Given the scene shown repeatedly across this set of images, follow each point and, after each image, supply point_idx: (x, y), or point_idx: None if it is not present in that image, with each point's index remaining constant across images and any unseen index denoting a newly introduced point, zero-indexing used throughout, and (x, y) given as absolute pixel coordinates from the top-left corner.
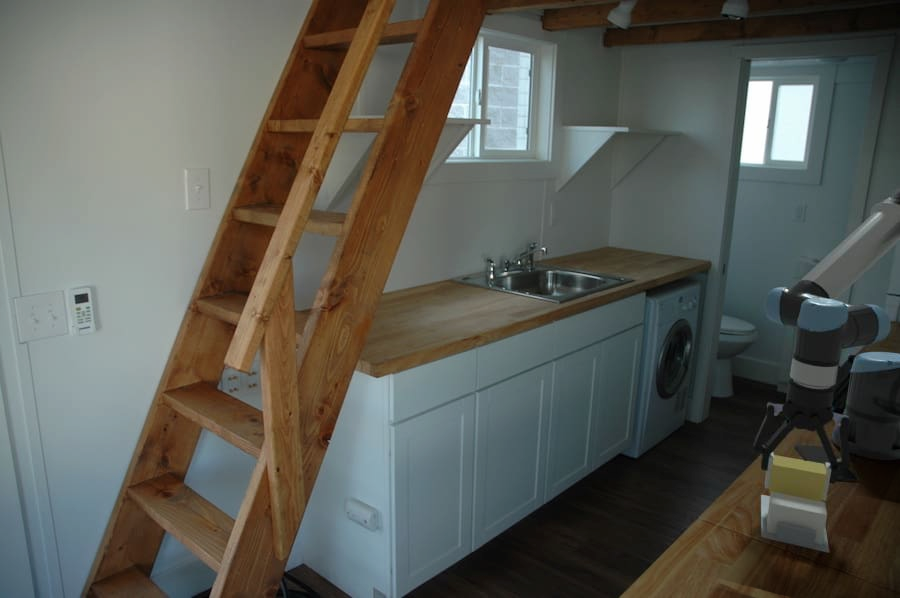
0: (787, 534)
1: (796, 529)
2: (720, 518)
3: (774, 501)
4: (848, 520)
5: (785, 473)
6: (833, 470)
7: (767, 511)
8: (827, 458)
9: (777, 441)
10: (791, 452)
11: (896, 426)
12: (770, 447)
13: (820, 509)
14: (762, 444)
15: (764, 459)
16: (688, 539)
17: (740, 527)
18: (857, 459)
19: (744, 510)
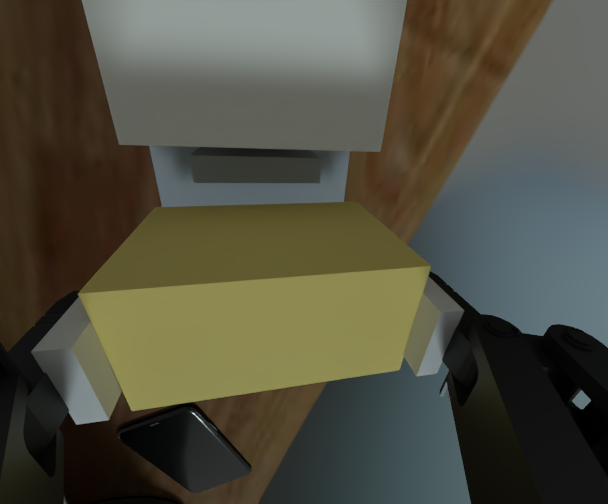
0: None
1: None
2: (454, 110)
3: (385, 30)
4: (103, 263)
5: (342, 248)
6: (34, 360)
7: (328, 188)
8: (188, 465)
9: (560, 465)
10: (256, 452)
11: None
12: (528, 377)
13: (126, 26)
14: (595, 381)
15: (459, 305)
16: None
17: (409, 76)
18: (134, 487)
19: (379, 189)
